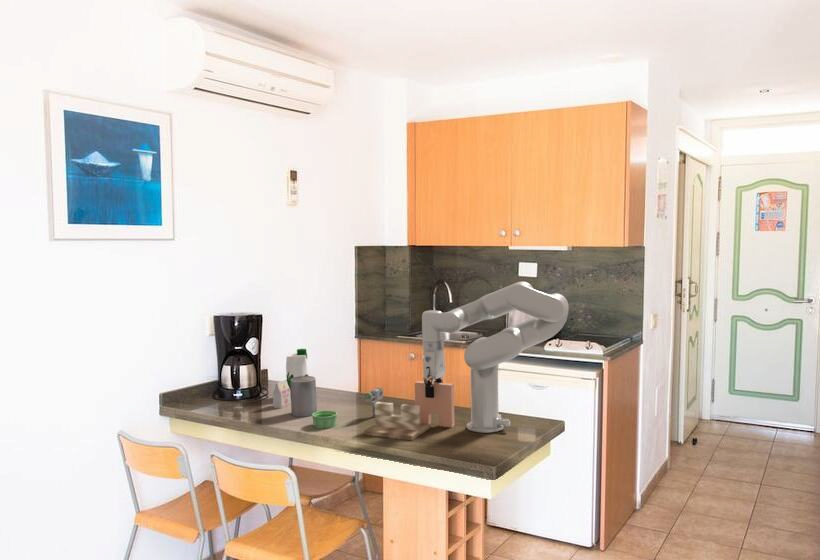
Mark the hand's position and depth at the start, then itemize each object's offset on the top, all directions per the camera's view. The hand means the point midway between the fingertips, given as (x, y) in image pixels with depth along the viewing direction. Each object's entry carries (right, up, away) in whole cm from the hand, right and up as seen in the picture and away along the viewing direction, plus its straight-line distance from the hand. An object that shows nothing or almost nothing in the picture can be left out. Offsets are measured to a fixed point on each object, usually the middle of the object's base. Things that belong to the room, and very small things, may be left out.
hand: (434, 394), depth 246 cm
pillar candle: (-49, -11, +20) cm, 54 cm away
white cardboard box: (-60, -10, +33) cm, 69 cm away
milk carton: (-56, -9, +48) cm, 75 cm away
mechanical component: (-22, -11, +13) cm, 27 cm away
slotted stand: (-13, -12, -6) cm, 19 cm away
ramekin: (-39, -12, +3) cm, 41 cm away
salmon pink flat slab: (0, -11, +1) cm, 11 cm away
